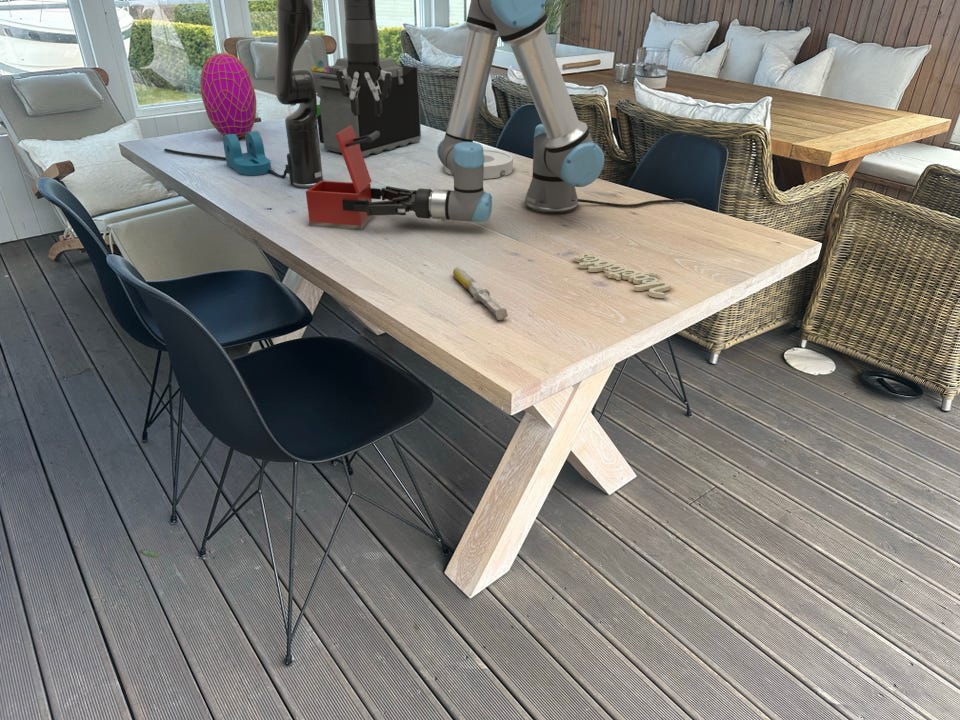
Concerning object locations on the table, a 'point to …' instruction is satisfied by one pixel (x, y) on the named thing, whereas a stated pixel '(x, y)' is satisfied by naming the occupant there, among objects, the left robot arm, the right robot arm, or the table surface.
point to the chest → (336, 205)
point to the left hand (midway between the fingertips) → (367, 115)
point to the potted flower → (322, 69)
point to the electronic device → (370, 109)
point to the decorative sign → (625, 274)
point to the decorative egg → (228, 95)
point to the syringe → (479, 293)
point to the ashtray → (494, 164)
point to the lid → (355, 156)
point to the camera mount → (246, 154)
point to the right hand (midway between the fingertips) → (350, 198)
